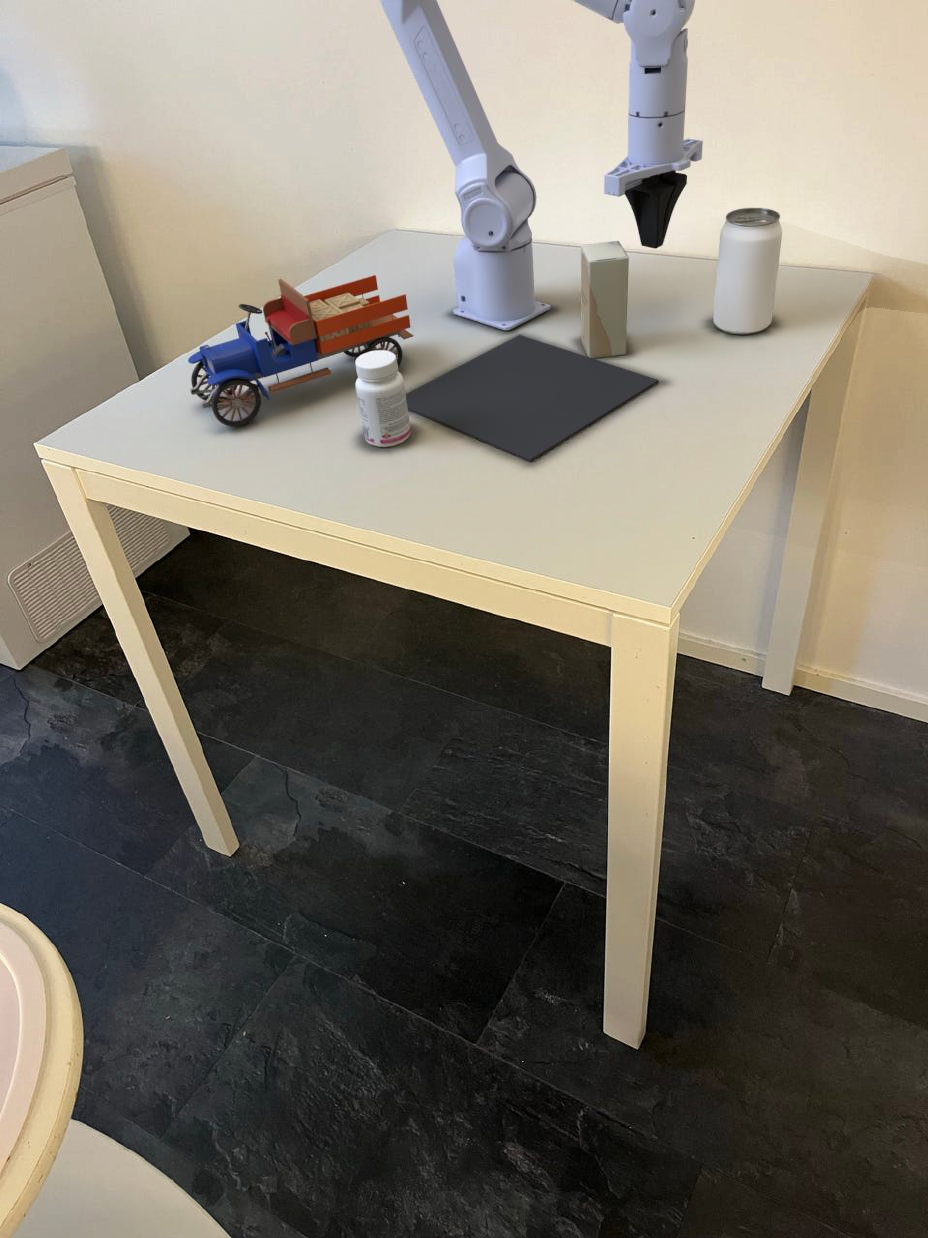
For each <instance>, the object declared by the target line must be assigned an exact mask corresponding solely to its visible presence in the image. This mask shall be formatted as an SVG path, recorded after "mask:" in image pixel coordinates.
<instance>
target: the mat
mask: <svg viewBox="0 0 928 1238" xmlns="http://www.w3.org/2000/svg"><path fill="white" fill-rule="evenodd" d="M659 381H660V380H659V379H657V378H654V377H651V376H648V375H646V374H645V375H644V374H642V373H640V372H639V373H638V372H635V371H632V370H629V369H626V368H624V367H620V366H617V365H614V364H612V363H608V362H605V361H601V360H598V359H597V358H589V357H588V356H586V355H583V354H580V353H577V352H574V351H571V350H568V349H564V348H561V347H558V346H555V345H552V344H549V343H547V342H543V341H540V340H537V339H535V338H532V337H531V338H530V337H527V336H525V335H522V334H518V335H516V336H514V337H513V338H511V339H508V340H507V341H504V342H503V343H501V344H499V345H497V346H495V347H493V348H491V349H490V350H487V351H486V352H484V353H482V354H480V355H477V356H476V357H474V358H471V359H470V360H469V361H466V362H465V363H463V364H461V365H459V366H457V367H455V368H453V369H451V370H449V371H448V372H445V373H444V374H442V375H439V376H438V377H436V378H434V379H431V380H430V381H428V382H426V383H424V384H422V385H420V386H418V387H417V388H415V389H413V390H411V391H409V392H407V393H406V400H407V407H408V411H410V412H411V413H414V414H416V415H419V416H421V417H424V418H426V419H428V420H431V421H432V422H435V423H438V424H440V425H442V426H444V427H447V428H449V429H452V430H454V431H456V432H459V433H461V434H463V435H465V436H468V437H470V438H473V439H475V440H478V441H480V442H482V443H485V444H487V445H490V446H492V447H493V448H496V449H498V450H501V451H503V452H505V453H508V454H510V455H513V456H515V457H518V458H520V459H522V460H524V461H527V462H528V463H531V462H532V463H533V461H535V460H537V459H538V458H540V457H542V456H543V455H545V454H546V453H548V452H549V451H551V450H552V449H554V448H556V447H558V446H559V445H561V444H562V443H564V442H565V441H567V440H568V439H571V438H572V437H573V436H575V435H577V434H578V433H580V432H582V431H583V430H585V429H586V428H588V427H589V426H591V425H593V424H594V423H596V422H597V421H599V420H601V419H602V418H604V417H605V416H607V415H609V414H610V413H612V412H614V411H615V410H617V409H619V408H620V407H622V406H623V405H625V404H626V403H628V402H630V401H632V400H633V399H634V398H636V397H637V396H639V395H641V394H642V393H644V392H646V391H648V390H649V389H650V388H652V387H654V386H656V385H657V384H658V383H660V382H659Z"/></svg>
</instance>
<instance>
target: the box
mask: <svg viewBox="0 0 928 1238" xmlns="http://www.w3.org/2000/svg"><path fill="white" fill-rule="evenodd" d="M629 264H630V256H629V254H628V253H627V251H626V249H625V248H624V247H623V245H622V244H621V241H619V240H612V241H604V242H595V243H594V242H593V243H588V244H587V243H586V244H581V245H580V322H581V323H580V329H581V330H580V332H581V333H580V341H581V343H582V345H583V348H584V351H585V352H586V355H587V357H589V358H593V359H597V358H605V357H606V358H607V357H615V356H622V355H623V356H624V355H626V354H627V334H628V333H627V332H628V330H627V329H628V303H629V302H628V301H629V299H628V297H629V272H630V271H629V268H630V267H629V266H630V265H629Z"/></svg>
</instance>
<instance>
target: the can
mask: <svg viewBox="0 0 928 1238" xmlns="http://www.w3.org/2000/svg"><path fill="white" fill-rule="evenodd" d="M780 219H781V214H780V213H779V211H776V210H774V209H770V208H766V207H742V208H738V209H733V210H732V211H730V212H728V213H727V214H726V215H725V222H724V224H723V225H722V226H721V227H722V228H721V229H720V233H719V234H720V235H719V244H718V256H717V266H716V267H717V268H716V278H715V279H716V280H715V290H714V291H715V293H714V304H713V305H714V306H713V318H712V319H713V320H712V321H713V324H714V325H715V326H716V328H717V329H718V330H719V331H722V332H724V333H727V334H731V335H740V336H741V335H752V334H753V335H754V334H757V333H761V332H762V331H764V330H766V329H767V328H768V327H769V326H770V325H771V324H772V320H773V313H774V307H775V299H776V298H775V297H776V289H777V280H778V273H779V266H780V257H781V250H782V249H781V248H782V239H783V228H782V224H781V222H780Z"/></svg>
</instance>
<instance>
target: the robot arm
mask: <svg viewBox="0 0 928 1238" xmlns="http://www.w3.org/2000/svg"><path fill="white" fill-rule="evenodd" d="M571 1H573V2H574V3H576V4H579V5H580V6H582V7H584V8H585V9H588V10H590V11H592V12H594V13H595V14H598V15H599V16H601V17H603V18H605V19H607V20H609V21H611V22H613V23H615V24H617V25H619V24H623V26H624V29H625V31H626V33H627V35H628V37H629V38H630V62H629V65H628V67H629V68H628V72H629V73H628V116H627V119H628V120H627V132H628V133H627V156H626V157H625V158H624V159H622V161H621V162H620V163H618V165H616V166H615V167H614V169H612V170H611V171H609V172H607V173H605V174H604V175H603V177H604V179H603V180H604V181H603V183H604V184H603V185H604V186H603V187H604V188H603V194H604V195H608V196H614V197H617V198H618V197H622V196H625V198H626V199H627V201H628V203H629V205H630V208H631V210H632V213H633V216H634V219H635V223H636V227H637V231H638V236H639V242H640V245H641V246H642V247H646V248H651V249H658V248H660V247H662V246H663V245H664V242H665V239H666V236H667V232H668V229H669V225H670V222H671V219H672V215H673V212H674V209H675V207H676V205H677V202H678V200H679V198H680V196H681V194H682V192H683V191H684V189H685V187H686V186H687V184H688V175H687V174H685V173H681V171H685V170H687V169H688V168H689V169H690V168H691V165H692V163H691V162H694V163H695V162H699V161H701V160H703V159H702V158H703V144H704V142H703V140H700V139H695V138H686V139H685V123H686V122H685V121H686V106H687V105H686V104H687V102H686V101H687V83H688V66H689V65H688V64H689V59H688V54H687V52H688V46H689V38H688V35H689V34H688V33H689V29H688V28H684V27H685V26H686V25H687V23H688V22H689V20H690V18H691V16H692V14H693V10H694V8H695V3H696V0H571ZM380 4H381V7H382V8H383V11H384V13H385V16H386V18H387V20H388V22H389V24H390V26H391V30H392V31H393V33H394V35H395V38H396V40H397V42H398V44H399V47H400V49H401V51H402V54H403V55H404V57H405V60H406V62H407V64H408V66H409V69H410V70H411V72H412V75H413V77H414V79H415V81H416V83H417V86H418V88H419V90H420V92H421V94H422V97H423V99H424V101H425V103H426V106H427V108H428V110H429V113H430V115H431V117H432V119H433V121H434V123H435V125H436V128H437V130H438V132H439V134H440V136H441V138H442V140H443V143H444V145H445V147H446V149H447V151H448V154H449V157H450V158H451V160H452V162H453V165H454V167H455V178H454V195H455V197H456V199H457V202H458V204H459V207H460V208H459V209H460V222H461V228H462V231H463V233H464V234H465V236H463V238H461V239H460V241H459V242H458V244H457V246H456V249H455V251H454V256H453V270H454V281H455V291H456V300H457V301H456V302H457V307H456V308H454V309H453V310H452V312H453V314H454V315H456V316H459V317H463V318H465V319H468V320H471V321H475V322H478V323H480V324H484V325H487V326H490V327H493V328H496V329H499V330H502V331H505V332H507V331H510V330H512V329H514V328H516V327H518V326H520V325H523V324H524V323H526V322H528V321H530V320H532V319H535V318H536V317H538V316H540V315H541V314H544V313H545V312H547V311H549V310H551V305H550V304H549V303H545V302H541V301H538V300H536V297H535V296H536V295H535V275H534V274H535V272H534V249H533V232H532V230H531V228H530V224H529V219H530V217H531V216H532V215H533V213H534V211H535V209H536V205H537V192H536V188H535V185H534V183H533V182H532V180H531V179H530V177H529V176H528V175H527V174H525V173H524V172H523V171H522V170H521V169H520V168H519V166H518V164H517V162H516V161H515V158H514V156H513V154H512V153H511V152H510V151H509V150H507V149H506V148H505V147H504V146H502V145H501V144H499V142H498V140H497V138H496V135H495V133H494V131H493V128H492V126H491V123H490V121H489V119H488V117H487V115H486V112H485V109H484V107H483V104H482V102H481V101H480V98H479V95H478V93H477V91H476V88H475V87H474V84H473V82H472V79H471V77H470V75H469V72H468V70H467V68H466V65H465V63H464V60H463V58H462V56H461V54H460V51H459V49H458V46H457V44H456V42H455V39H454V38H453V35H452V33H451V31H450V28H449V26H448V24H447V21H446V19H445V16H444V14H443V12H442V9H441V7H440V5H439V3H438V0H380Z"/></svg>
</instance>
